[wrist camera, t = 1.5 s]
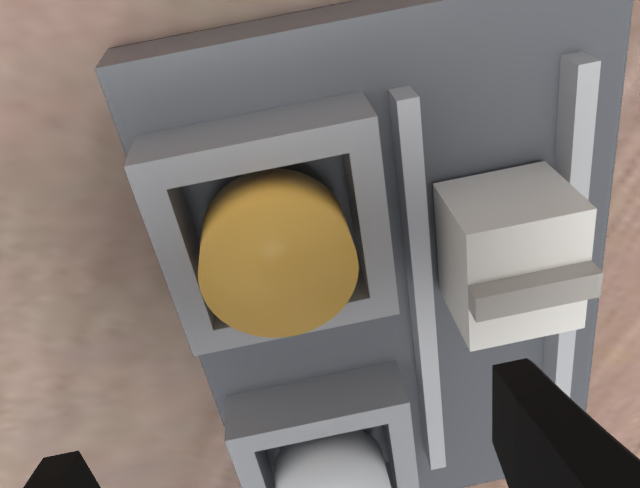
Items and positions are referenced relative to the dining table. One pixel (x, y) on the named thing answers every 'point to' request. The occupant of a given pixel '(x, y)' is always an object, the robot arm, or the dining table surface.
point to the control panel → (371, 201)
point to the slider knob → (515, 254)
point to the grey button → (332, 463)
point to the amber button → (276, 254)
